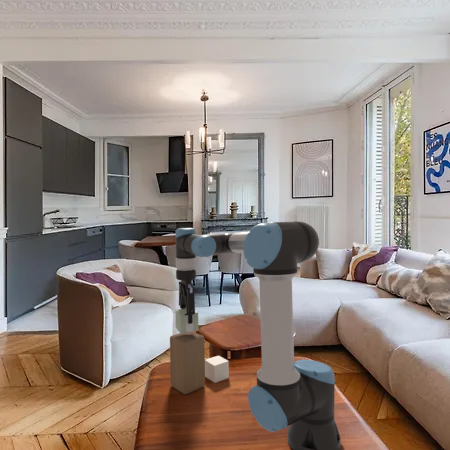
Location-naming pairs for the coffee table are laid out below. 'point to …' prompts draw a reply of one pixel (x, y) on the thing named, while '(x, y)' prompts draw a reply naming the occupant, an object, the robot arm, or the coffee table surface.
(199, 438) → the coffee table surface
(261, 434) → the coffee table surface
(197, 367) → the wooden block
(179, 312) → the sage cube
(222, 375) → the cream cube
